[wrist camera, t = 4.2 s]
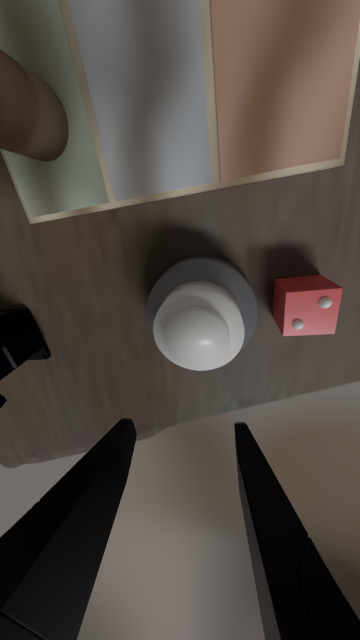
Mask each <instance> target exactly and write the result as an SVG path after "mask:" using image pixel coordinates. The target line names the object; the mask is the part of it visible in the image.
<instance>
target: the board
mask: <svg viewBox="0 0 360 640" xmlns="http://www.w3.org/2000/svg"><path fill="white" fill-rule="evenodd" d="M0 49H1V50H3V51H4V52H5V53H7V54H8V55H9V56H10V57H12V58H13V59H14V60H16V61H17V62H18V63H20V64H21V65H22V66H24V67H25V68H26V69H28V70H29V71H30V72H32V73H33V74H34V75H36V76H37V77H38V78H39V79H41V80H42V81H43V82H45V83H46V84H47V85H49V86H50V87H51V88H52V89H53V90H54V92H55V93H56V94H57V96H58V97H59V99H60V100H61V102H62V104H63V107H64V109H65V112H66V115H67V120H68V128H69V134H68V141H67V145H66V148H65V150H64V152H63V153H62V154H61V156H59V157H58V158H57V159H55V160H53V161H48V162H45V161H40V160H36V159H33V158H30V157H26V156H23V155H20V154H16V153H13V152H10V151H6V150H3V149H0V151H1V154H2V156H3V158H4V161H5V163H6V166H7V168H8V171H9V173H10V176H11V178H12V180H13V183H14V185H15V188H16V190H17V193H18V195H19V198H20V200H21V203H22V205H23V207H24V210H25V212H26V215H27V217H28V220H29V222H30V224H31V223H39V222H45V221H50V220H55V219H61V218H66V217H72V216H77V215H82V214H88V213H93V212H98V211H104V210H109V209H114V208H120V207H125V206H130V205H136V204H141V203H147V202H152V201H157V200H163V199H168V198H173V197H179V196H184V195H189V194H195V193H200V192H205V191H211V190H216V189H222V188H227V187H232V186H238V185H243V184H248V183H254V182H259V181H264V180H270V179H275V178H281V177H286V176H291V175H297V174H302V173H307V172H313V171H318V170H323V169H329V168H334V167H339V166H342V165H344V159H345V153H346V146H347V139H348V132H349V126H350V119H351V112H352V105H353V99H354V92H355V85H356V78H357V71H358V65H359V58H360V0H0Z"/></svg>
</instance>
